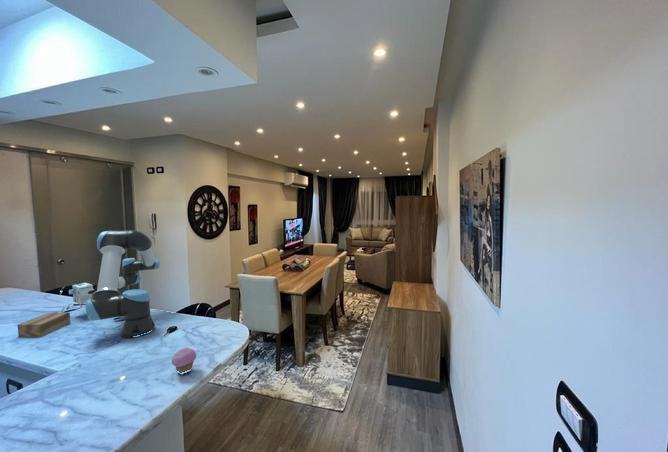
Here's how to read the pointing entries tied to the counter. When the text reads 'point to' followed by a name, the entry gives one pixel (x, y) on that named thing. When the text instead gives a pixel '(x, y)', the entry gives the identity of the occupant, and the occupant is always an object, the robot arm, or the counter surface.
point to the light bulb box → (77, 292)
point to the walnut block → (43, 324)
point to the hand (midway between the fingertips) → (75, 293)
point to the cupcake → (184, 359)
